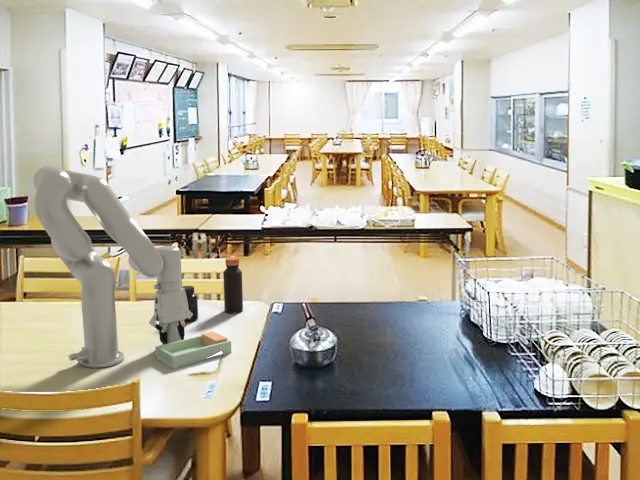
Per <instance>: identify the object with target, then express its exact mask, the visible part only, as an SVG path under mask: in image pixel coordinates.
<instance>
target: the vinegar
mask: <svg viewBox="0 0 640 480" xmlns="http://www.w3.org/2000/svg"><path fill="white" fill-rule="evenodd" d="M239 266H240V258H239V257H236V256H234V257H232V256H230V257H226V258H225V267H226V268H225V270H223V298H224V299H223V300H224V303H223V304H224V311H225V312H226V313H227V314H238V313H241V312H243V310H244V304H243V303H244V302H243V301H244V300H243V299H244V298H243V272H242V270H241V268H240V267H239Z"/></svg>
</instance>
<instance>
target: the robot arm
mask: <svg viewBox="0 0 640 480" xmlns="http://www.w3.org/2000/svg"><path fill="white" fill-rule="evenodd" d="M33 186H34V188H35V189H36V192H35V197H34V212H35V215H36V217H37V219H38V222H40V224H41V226H42V227H43V229H44V231H45V232H46V234H47V235H48V236H49V237H50V242H51V246H52V249H53V251H55V253H56V254H57V256H58V257H59V258H60V260H61V261H62V262H63V265H65V267H66V268H67V269H68V271H69V272H70V274H72V276H73V277H74V278H75V279H76V280H77V281H78V282H79V283H80V285H81V295H80V296H81V306H80V307H81V314H82V328H83V340H84V346H82V347H81V350H79V351H78V352H75V353H69V354H68V359H69V361H70V362H72V361H75V360H76V362H79V363H80V364H81V365H82V366H83V367H86V368H91V369H92V368H95V369H97V368H101V369H102V368H107V367H111V366H115V365H117V364H120V363H122V362H123V361H124V360H125V354H124V352H122V351H120V350H119V343H118V342H119V341H118V340H119V338H118V324H117V311H116V283H117V282H116V280H117V278H116V272H115V269H114V267H113V266H112V264H111V263H110V262H109V261H108V260H106V259H105V258H103V257H101V256H100V255H99V254H98V253H97V251H96V250H95V248H94V247H93V245H92V244H93V242H92V239H91V237H90V236H89V234H88V233H87V232H86V231H85V229H84V228H83V227H82V226H81V224H80V223H79V221H78V220H77V219H76V218H75V216H74V214H73V213H72V211H71V210H70V208H69V205H68V200H69V201H73V202H74V201H75V202H81V203H84V204H85V205H86V207H87V208H88V209H89V211H90V213H92V215H93V216H94V217H95V219H96V220H97V222H98V223H99V224H100V226H101V227H102V229H103V231H104V232H105V233H106V235H108V236H109V238H111V239H112V240H113V241H115V242H116V243H117V244H118V245H119V246H120V247H121V248H122V249H123V250H124V251H125V253H127V254H128V265H129V266H130V268H131V269H133V270H134V271H136V272H137V273H139V274H141V275H142V276H144V277H146V278H155V277H156V280H157V281H156V284H154V285H153V289H154V290H156V291H155V295H154V302H153V303H154V304H153V309H154V310H153V313H154V314H153V315H152V317H151V318H150V320H149V322H148V324H149V325H151V326H152V327H153V328H155V329H156V330H157V331H158V332H159V334H158V335H159V341H160V343H161V344H162V343H163V344H167V332H166V329H167V324H168V323H173V322H177V325H176V326H177V329H178V331H179V334H180V337H181V339H182V340H184V339H185V328H186V327H187V324H188V323H189V322H188V321H189V319H190V318H191V317H192V316H193V313H192V312H191V311H190V310H189V309H188V301H187V296H186V292H185V289H184V288H182V287H183V280H182V279H183V278H182V256H181V255H182V254H181V249H180V248H179V247H178V246H176V245H175V246H174V245H165V246H159V247H155V245H154V244H153V242H152V241H151V239H150V238H149V237H148V236H147V234H145V231H143V230H142V229H141V227H140V226H139V225H138V223H137V221H135V219H134V218H133V217H132V216H131V215H130V213H129V212H128V210H127V209H126V208H125V206H124V205H123V203H122V201H121V200H120V198H119V197H118V196H117V194H116V193H115V192H114V189H113V188H112V187H111V186H110V185H109V183H108V182H107V181H106V180H105V179H103V178H102V177H99V176H95V175H91V174H87V173H86V174H85V173H81V172H76V171H72V170H69V169H68V170H67V169H65V168H60V167H56V166H53V165H52V166H51V165H47V166H42V167H41V168H39V169H37V171H35V173H34V176H33ZM157 322H158V323H157Z"/></svg>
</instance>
